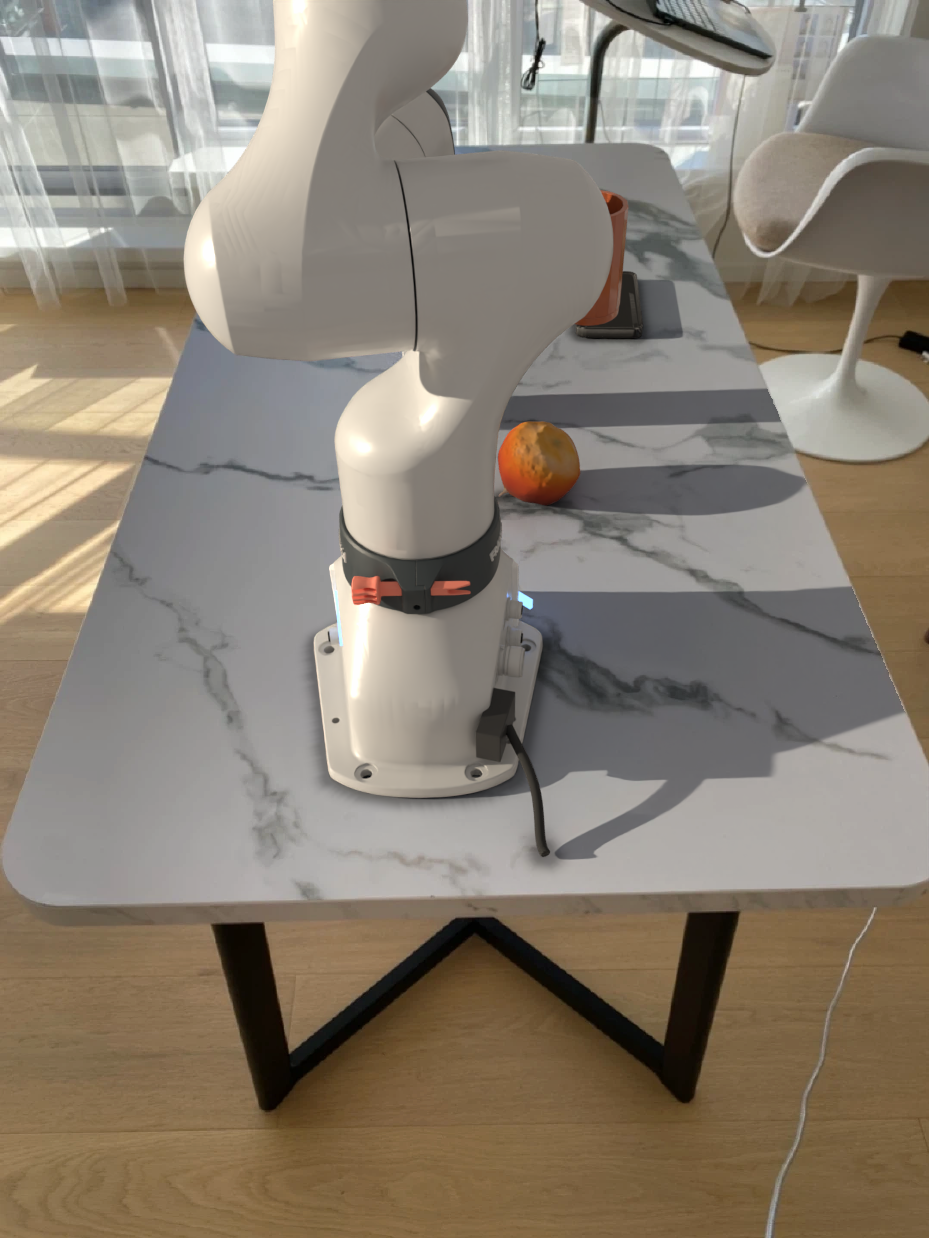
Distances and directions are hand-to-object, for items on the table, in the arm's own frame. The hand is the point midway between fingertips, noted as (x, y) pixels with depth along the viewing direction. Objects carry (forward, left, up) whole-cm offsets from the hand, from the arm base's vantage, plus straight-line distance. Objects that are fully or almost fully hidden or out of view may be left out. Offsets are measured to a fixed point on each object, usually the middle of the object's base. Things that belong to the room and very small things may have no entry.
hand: (598, 255), depth 103 cm
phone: (+20, -4, -16) cm, 26 cm away
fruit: (-17, +6, -16) cm, 24 cm away
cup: (+1, +1, -6) cm, 6 cm away
